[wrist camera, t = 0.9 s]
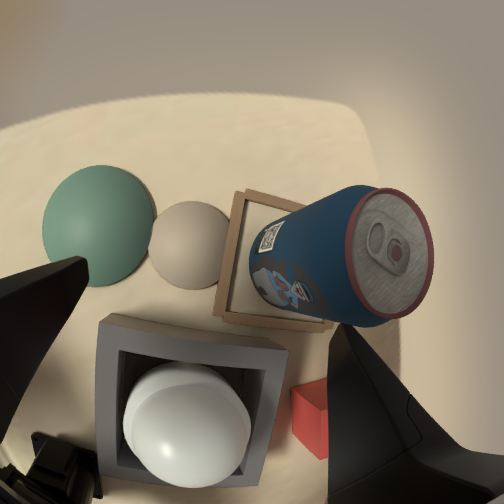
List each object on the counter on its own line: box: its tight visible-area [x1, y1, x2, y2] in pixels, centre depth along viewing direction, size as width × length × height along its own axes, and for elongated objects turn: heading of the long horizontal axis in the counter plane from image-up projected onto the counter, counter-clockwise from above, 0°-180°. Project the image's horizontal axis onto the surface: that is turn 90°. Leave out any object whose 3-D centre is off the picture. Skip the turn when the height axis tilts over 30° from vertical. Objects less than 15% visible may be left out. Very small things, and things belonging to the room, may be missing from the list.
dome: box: [123, 362, 251, 488], centre depth 14 cm, size 8×8×7 cm
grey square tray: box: [95, 313, 289, 488], centre depth 17 cm, size 12×12×4 cm
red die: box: [291, 378, 329, 460], centre depth 19 cm, size 5×5×6 cm
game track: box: [42, 165, 333, 333], centre depth 20 cm, size 10×25×1 cm, turn 80°
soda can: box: [249, 185, 434, 328], centre depth 16 cm, size 7×7×12 cm
